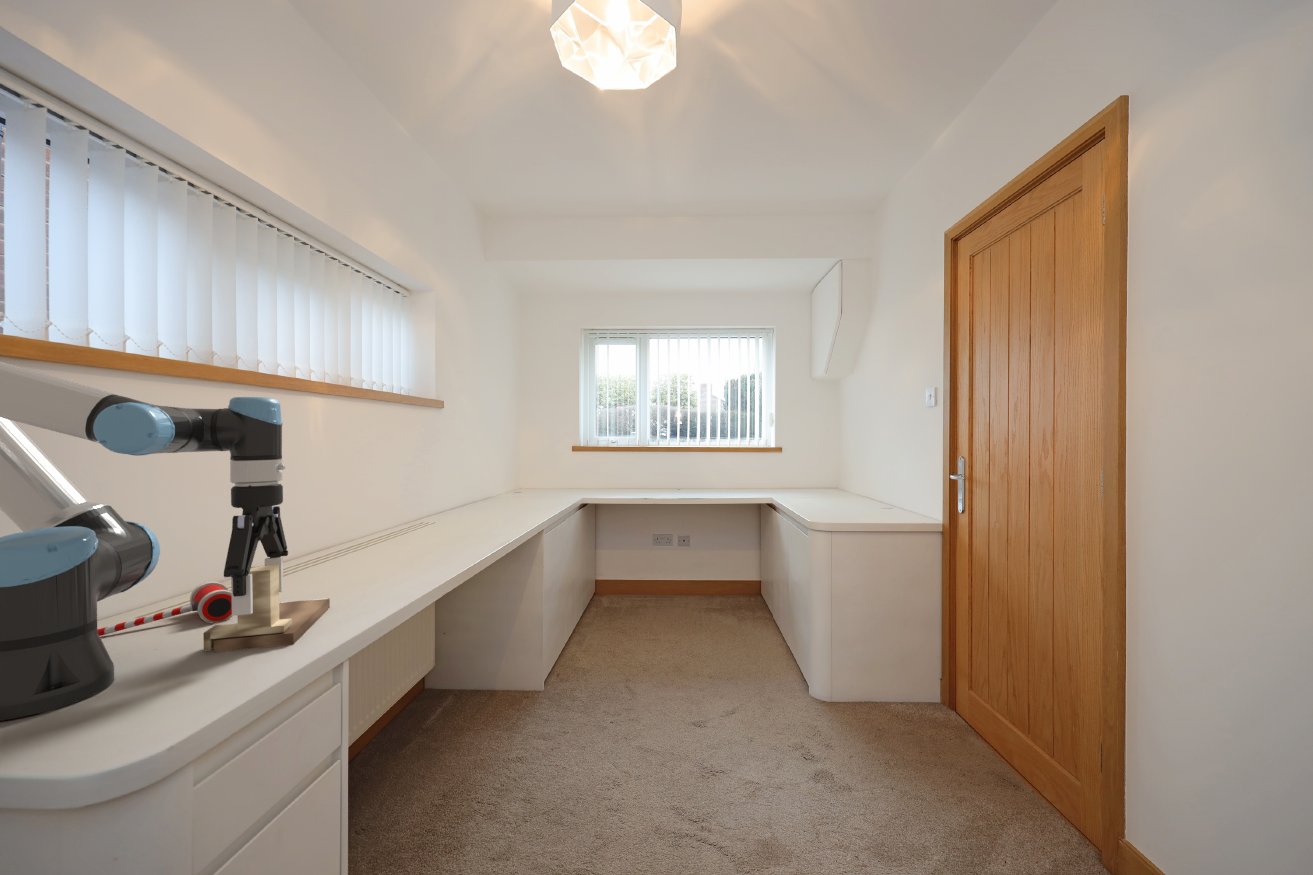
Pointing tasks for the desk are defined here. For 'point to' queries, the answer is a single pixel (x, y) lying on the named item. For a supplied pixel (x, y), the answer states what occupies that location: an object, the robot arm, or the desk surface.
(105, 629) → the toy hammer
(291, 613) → the board
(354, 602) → the desk surface
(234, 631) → the bracket
